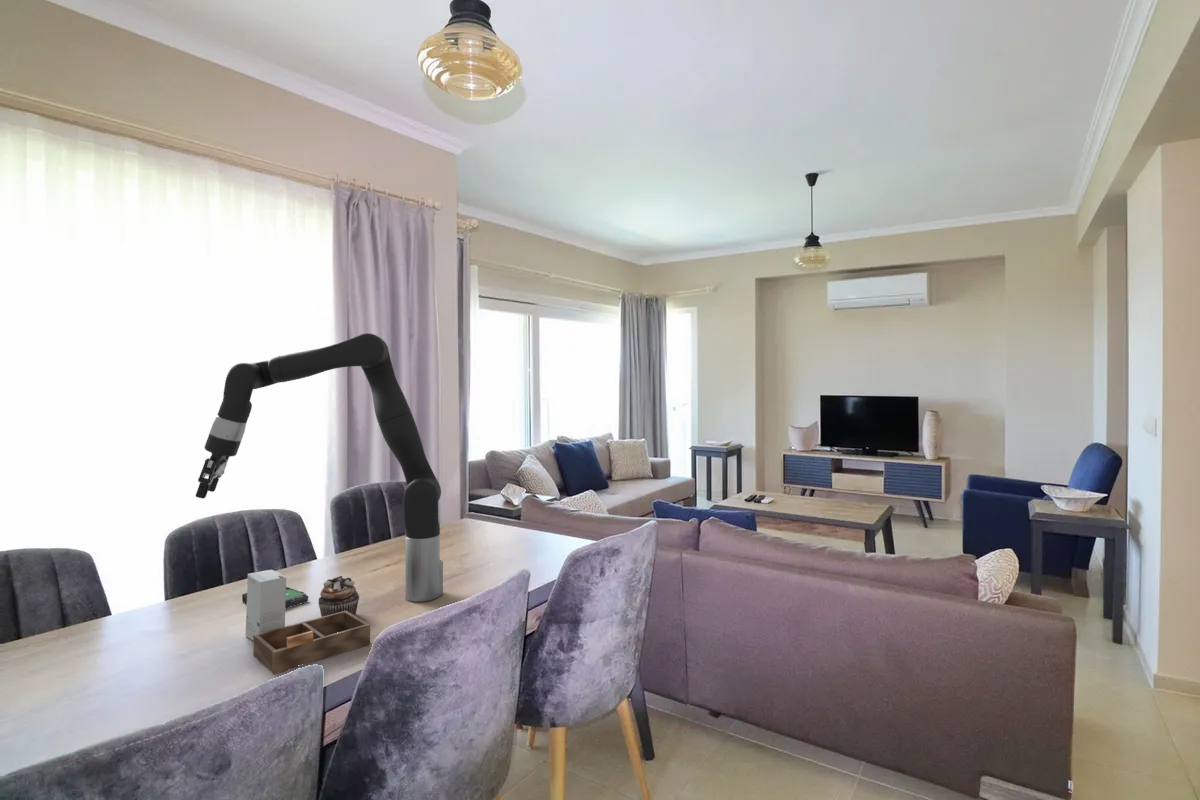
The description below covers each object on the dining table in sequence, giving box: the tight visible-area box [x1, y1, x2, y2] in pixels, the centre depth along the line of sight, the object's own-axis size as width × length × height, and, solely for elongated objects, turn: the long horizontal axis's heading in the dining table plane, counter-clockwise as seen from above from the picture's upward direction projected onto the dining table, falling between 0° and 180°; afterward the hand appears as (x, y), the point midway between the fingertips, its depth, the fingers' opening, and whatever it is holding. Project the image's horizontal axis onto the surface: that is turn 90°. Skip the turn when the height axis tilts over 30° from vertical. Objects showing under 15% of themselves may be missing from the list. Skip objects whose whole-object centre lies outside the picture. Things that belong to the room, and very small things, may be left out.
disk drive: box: [241, 586, 309, 609], centre depth 167 cm, size 10×3×15 cm
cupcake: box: [318, 575, 360, 617], centre depth 155 cm, size 10×10×10 cm
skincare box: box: [245, 569, 287, 641], centre depth 143 cm, size 8×6×15 cm
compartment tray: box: [252, 611, 371, 675], centre depth 136 cm, size 20×13×6 cm, turn 136°
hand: (205, 494), depth 161 cm, fingers open, 8 cm apart
